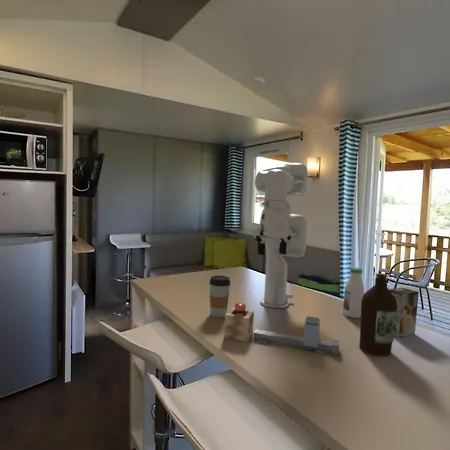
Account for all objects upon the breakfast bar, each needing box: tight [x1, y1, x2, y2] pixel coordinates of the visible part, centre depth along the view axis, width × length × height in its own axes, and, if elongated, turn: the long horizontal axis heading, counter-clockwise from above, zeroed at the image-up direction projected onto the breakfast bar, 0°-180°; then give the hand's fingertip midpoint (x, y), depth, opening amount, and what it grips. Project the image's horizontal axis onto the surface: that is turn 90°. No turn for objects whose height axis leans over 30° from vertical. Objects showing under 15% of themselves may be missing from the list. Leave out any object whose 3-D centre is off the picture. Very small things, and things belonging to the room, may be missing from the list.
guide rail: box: [252, 328, 340, 357], centre depth 112 cm, size 27×6×3 cm, turn 72°
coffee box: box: [388, 287, 419, 338], centre depth 126 cm, size 9×6×16 cm
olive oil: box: [359, 272, 397, 357], centre depth 110 cm, size 11×11×25 cm
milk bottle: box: [342, 267, 365, 319], centre depth 142 cm, size 8×8×20 cm
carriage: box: [302, 315, 321, 348], centre depth 110 cm, size 4×7×8 cm, turn 162°
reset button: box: [234, 302, 247, 316], centre depth 117 cm, size 4×4×5 cm
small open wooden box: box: [223, 307, 255, 343], centre depth 117 cm, size 8×8×8 cm
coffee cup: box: [209, 275, 231, 318], centre depth 136 cm, size 8×8×15 cm
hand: (271, 254), depth 121 cm, fingers open, 9 cm apart
